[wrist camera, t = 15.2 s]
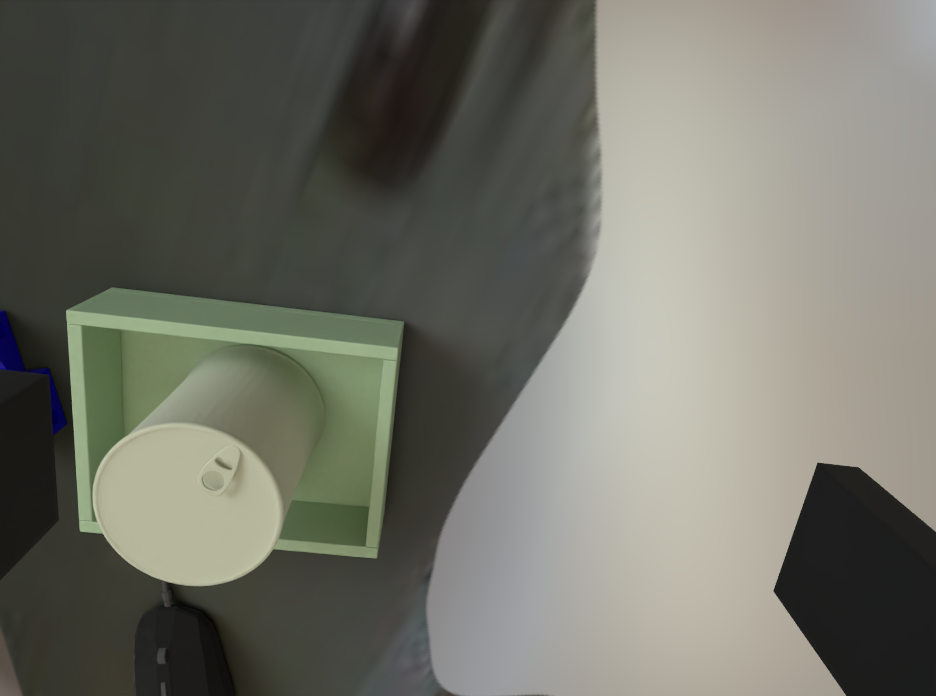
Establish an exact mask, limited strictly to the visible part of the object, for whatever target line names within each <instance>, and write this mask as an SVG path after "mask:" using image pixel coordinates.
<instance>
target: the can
mask: <svg viewBox="0 0 936 696" xmlns="http://www.w3.org/2000/svg"><path fill="white" fill-rule="evenodd" d="M324 421H325V411H324V404H323V400H322V397H321V394H320V391H319V389H318V387H317V385H316V383H315V382H314V380H313V379H312V377H311V376H310V375H309V374H308V372H307V371H306V370H305V369H304V368H303V367H302V366H301V365H300V364H298V363H297V362H296V361H294V360H293V359H291V358H290V357H288V356H286V355H285V354H283V353H281V352H278V351H276V350H273V349H270V348H267V347H262V346H256V345H236V346H231V347H227V348H223V349H220V350H218V351H215V352H213V353H211V354H209V355H208V356H206V357H205V358H203V359H202V360H201V361H200V362H199V363H198V364H196V365H195V367H194V368H193V369H192V370H191V372H190V373H189V375H188V376H187V378H186V379H185V380H184V381H183V382H182V383H181V384H180V385H179V386H178V387H177V388H176V389H175V390H174V391H173V392H172V393H171V394H170V395H169V396H168V397H167V398H166V399H165V400H164V401H163V402H162V403H161V404H160V405H159V406H158V407H157V408H156V409H155V410H154V411H153V412H152V413H151V414H150V415H149V416H148V417H147V418H146V419H145V420H144V421H142V422H141V423H140V424H139V425H138V426H137V427H136V428H135V429H134V430H133V431H132V432H131V433H130V434H129V435H127V436H126V437H124V438H123V439H121V440H120V441H119V442H118V443H117V444H116V445H115V446H113V447H112V448H111V449H110V451H109V452H108V453H107V454H106V456H105V457H104V459H103V460H102V462H101V464H100V466H99V468H98V470H97V473H96V476H95V480H94V484H93V496H92V497H93V507H94V512H95V516H96V519H97V522H98V524H99V527H100V529H101V531H102V532H103V534H104V536H105V538H106V539H107V540H108V542H109V543H110V544H111V546H112V547H113V548H114V549H115V550H116V552H117V553H118V554H119V555H120V556H122V557H123V558H124V559H125V560H126V561H127V562H129V563H130V564H131V565H133V566H134V567H136V568H137V569H139V570H141V571H142V572H144V573H146V574H148V575H150V576H152V577H155V578H158V579H161V580H163V581H166V582H171V583H175V584H180V585H187V586H208V585H216V584H222V583H225V582H229V581H232V580H235V579H237V578H239V577H242V576H244V575H246V574H247V573H249V572H251V571H252V570H254V569H255V568H256V567H258V566H259V565H260V564H261V563H262V562H263V561H264V560H265V559H266V558H267V557H268V556H269V554H270V553H271V552H272V550H273V549H274V547H275V545H276V544H277V542H278V539H279V537H280V534H281V531H282V527H283V523H284V520H285V517H286V514H287V512H288V509H289V506H290V504H291V501H292V499H293V496H294V494H295V491H296V488H297V486H298V484H299V481H300V479H301V476H302V474H303V471H304V469H305V467H306V464H307V462H308V460H309V457H310V455H311V453H312V452H313V450H314V449H315V447H316V446H317V444H318V442H319V440H320V438H321V435H322V432H323V427H324Z"/></svg>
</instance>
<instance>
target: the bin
mask: <svg viewBox="0 0 936 696" xmlns="http://www.w3.org/2000/svg"><path fill="white" fill-rule="evenodd" d="M66 314H67V323H68V325H67V329H68V345H69V361H70V378H71V394H72V410H73V426H74V442H75V458H76V474H77V490H78V506H79V520H80V521H79V524H80V531H81V532H92V533H103V532H102V531H101V529H100V527H99V524H98V522H97V519H96V516H95V512H94V507H93V497H92V496H93V484H94V480H95V476H96V473H97V470H98V468H99V466H100V464H101V462H102V460H103V459H104V457H105V456H106V454H107V453H108V452H109V451H110V449H111V448H112V447H113V446H115V445H116V444H117V443H118V442H119V441H120V440H121V439H123V438H124V437H126V436H127V435H129V434H130V433H131V432H132V431H133V430H134V429H135V428H136V427H137V426H138V425H139V424H140V423H141V422H142V421H144V420H145V419H146V418H147V417H148V416H149V415H150V414H151V413H152V412H153V411H154V410H155V409H156V408H157V407H158V406H159V405H160V404H161V403H162V402H163V401H164V400H165V399H166V398H167V397H168V396H169V395H170V394H171V393H172V392H173V391H174V390H175V389H176V388H177V387H178V386H179V385H180V384H181V383H182V382H183V381H184V380H185V379H186V378H187V376H188V375H189V373H190V372H191V370H192V369H193V368H194V367H195V365H196V364H198V363H199V362H200V361H201V360H202V359H203V358H205V357H206V356H208V355H209V354H211V353H213V352H215V351H218V350H220V349H223V348H227V347H231V346H236V345H256V346H262V347H267V348H270V349H273V350H276V351H278V352H281V353H283V354H285V355H286V356H288V357H290V358H291V359H293V360H294V361H296V362H297V363H298V364H300V365H301V366H302V367H303V368H304V369H305V370H306V371H307V372H308V374H309V375H310V376H311V377H312V379H313V380H314V382H315V383H316V385H317V387H318V389H319V391H320V394H321V397H322V400H323V404H324V411H325V421H324V427H323V432H322V435H321V438H320V440H319V442H318V444H317V446H316V447H315V449H314V450H313V452H312V453H311V455H310V457H309V460H308V462H307V464H306V467H305V469H304V471H303V474H302V476H301V479H300V481H299V484H298V486H297V488H296V491H295V494H294V496H293V499H292V501H291V504H290V506H289V509H288V512H287V514H286V517H285V520H284V523H283V527H282V531H281V534H280V537H279V539H278V542H277V544H276V545H275V547H274V549H278V550H289V551H300V552H311V553H322V554H333V555H344V556H355V557H366V558H377V555H378V548H379V542H380V536H381V530H382V524H383V517H384V511H385V501H386V492H387V482H388V473H389V463H390V454H391V444H392V435H393V425H394V416H395V406H396V396H397V387H398V377H399V368H400V358H401V349H402V339H403V330H404V321H395V320H387V319H378V318H370V317H361V316H353V315H344V314H335V313H327V312H318V311H310V310H301V309H293V308H284V307H275V306H267V305H258V304H250V303H241V302H233V301H224V300H216V299H207V298H198V297H190V296H181V295H173V294H164V293H156V292H147V291H138V290H130V289H121V288H110V289H108V290H107V291H105V292H103V293H101V294H98V295H96V296H94V297H92V298H90V299H88V300H86V301H84V302H82V303H80V304H78V305H76V306H74V307H72V308H70V309H68V310H67V311H66Z"/></svg>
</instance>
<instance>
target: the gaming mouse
mask: <svg viewBox="0 0 936 696" xmlns="http://www.w3.org/2000/svg"><path fill="white" fill-rule="evenodd" d="M161 582H162V587H163V590H162V597H163V600H164V606H160V607H159V608H157V609H155V610H153V611H151V612H149V613H147V614H145V615H143V617H142V618H141V620H140V622H139V624H138V628H137V631H136V635H135V655H133V669H134V682H135V687H134V691H135V696H233V695H234V692H233V688H232V683H231V679H230V676H229V673H228V670H227V667H226V664H225V660H224V657H223V653H222V649H221V646H220V642H219V640H218V637H217V634H216V631H215V628H214V625H213V624H212V623H211V622H210V621H209V620H208V619H207V618H206V617H205V615H204V614H203V613H202V612H201V611H199V610H195V609H192V608H188V607H185V606H181V605H172V604H173V601H172V599H171V598H172V593H171V588H169V587H168V582H166V581H163V580H161Z"/></svg>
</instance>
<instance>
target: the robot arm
mask: <svg viewBox="0 0 936 696" xmlns="http://www.w3.org/2000/svg"><path fill="white" fill-rule="evenodd" d="M58 520H59V518H58V502H57V487H56V472H55V456H54V441H53V425H52V410H51V394H50V379H49V375H47V374H38V373H30V372H21V371H12V370H4V369H0V580H1V579H2V578H3V577H4V576H5V575H6V574H7V573H8V572H9V571H10V570H11V569H12V568H13V567H14V566H15V564H16V563H17V562H18V561H19V560H20V559H21V558H22V557H23V556H24V555H25V554H26V553H27V552H28V551H29V550H30V549H31V548H32V547H33V546H34V545H35V544H36V543H37V542H38V541H39V540H40V539H41V538H42V537H43V536H44V535H45V534H46V533H47V532H48V531H49V530H50V529H51V528H52V527H53V525H54V524H55V523H56V522H57V521H58ZM774 593H775V594H776V595H777V597H778V598H779V600H780V601H781V602H782V604H783V605H784V607H785V608H786V610H787V611H788V613H789V614H790V615H791V617H792V618H793V620H794V621H795V623H796V624H797V626H798V627H799V628H800V630H801V631H802V633H803V634H804V635H805V637H806V638H807V640H808V641H809V643H810V644H811V646H812V647H813V648H814V650H815V651H816V653H817V654H818V655H819V657H820V658H821V660H822V661H823V663H824V664H825V666H826V667H827V668H828V670H829V671H830V673H831V674H832V676H833V677H834V679H835V680H836V681H837V683H838V684H839V686H840V687H841V688H842V690H843V691H844V693H845V694H846V696H936V532H935V531H934V530H933V529H931V528H930V527H929V526H928V525H926V523H924V522H923V521H922V520H921V519H920V518H918V517H917V516H916V515H915V514H914V513H912V512H911V511H910V510H909V509H908V508H906V507H905V506H904V505H903V504H902V503H900V502H899V501H898V500H897V499H896V498H894V497H893V496H892V495H891V494H890V493H889V492H887V491H886V490H885V489H884V488H883V487H881V486H880V485H879V484H878V483H877V482H875V481H874V480H873V479H872V478H871V477H869V476H868V475H867V474H866V473H865V472H863V471H862V470H861V469H860V468H858V467H850V466H840V465H833V464H824V463H817V466H816V469H815V472H814V476H813V478H812V481H811V484H810V486H809V489H808V492H807V495H806V498H805V501H804V504H803V507H802V510H801V513H800V516H799V518H798V521H797V524H796V527H795V530H794V533H793V536H792V539H791V542H790V545H789V548H788V551H787V553H786V556H785V559H784V562H783V565H782V568H781V571H780V574H779V576H778V580H777V582H776V585H775V588H774Z"/></svg>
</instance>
